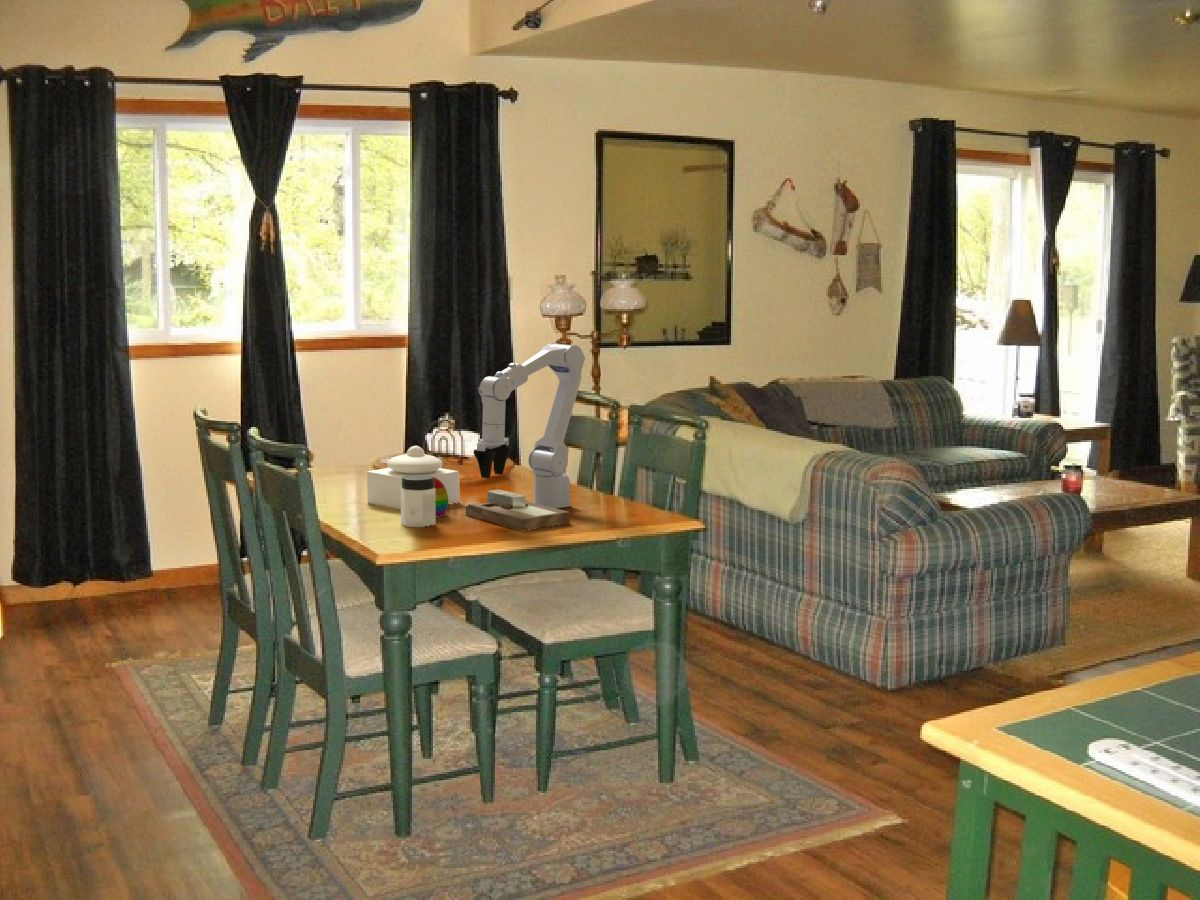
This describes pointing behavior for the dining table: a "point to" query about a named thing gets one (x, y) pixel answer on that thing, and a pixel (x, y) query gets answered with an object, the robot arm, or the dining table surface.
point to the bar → (505, 498)
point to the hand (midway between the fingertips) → (492, 475)
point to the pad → (533, 511)
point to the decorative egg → (440, 497)
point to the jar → (418, 501)
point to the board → (516, 516)
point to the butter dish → (389, 480)
